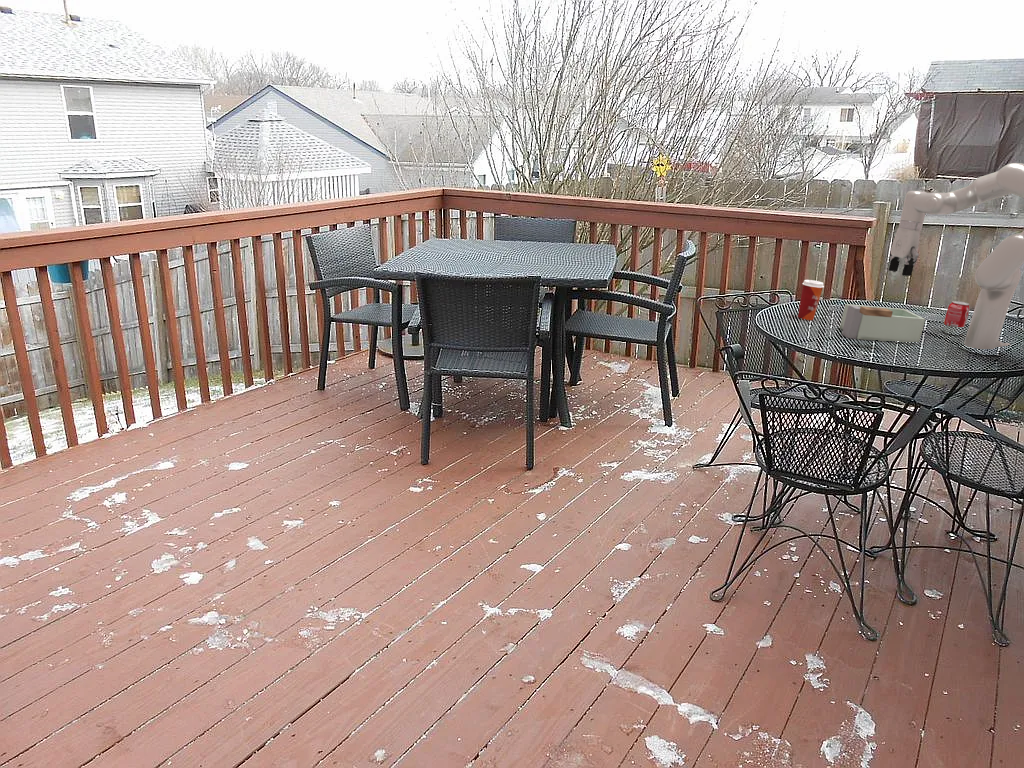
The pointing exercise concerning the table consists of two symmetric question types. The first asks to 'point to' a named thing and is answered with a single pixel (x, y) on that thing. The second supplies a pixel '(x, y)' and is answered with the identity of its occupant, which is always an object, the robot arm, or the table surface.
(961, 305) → the soda can
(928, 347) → the table surface
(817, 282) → the paper cup
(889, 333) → the toolbox
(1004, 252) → the robot arm
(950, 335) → the table surface
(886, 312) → the wooden block
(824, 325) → the table surface
